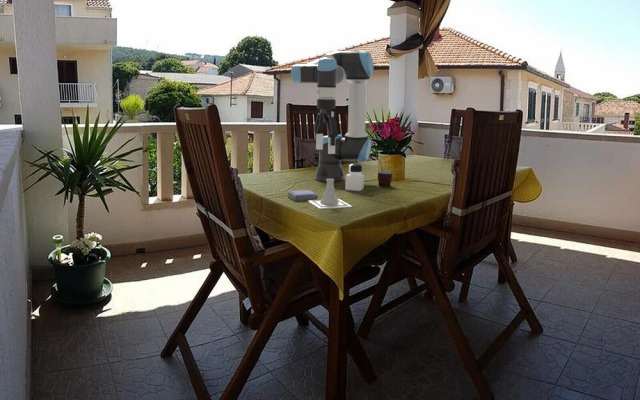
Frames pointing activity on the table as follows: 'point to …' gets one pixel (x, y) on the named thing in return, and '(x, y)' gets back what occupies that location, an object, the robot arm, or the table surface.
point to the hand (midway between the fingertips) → (325, 151)
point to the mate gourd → (384, 176)
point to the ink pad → (302, 195)
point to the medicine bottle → (355, 178)
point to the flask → (329, 194)
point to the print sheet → (326, 206)
